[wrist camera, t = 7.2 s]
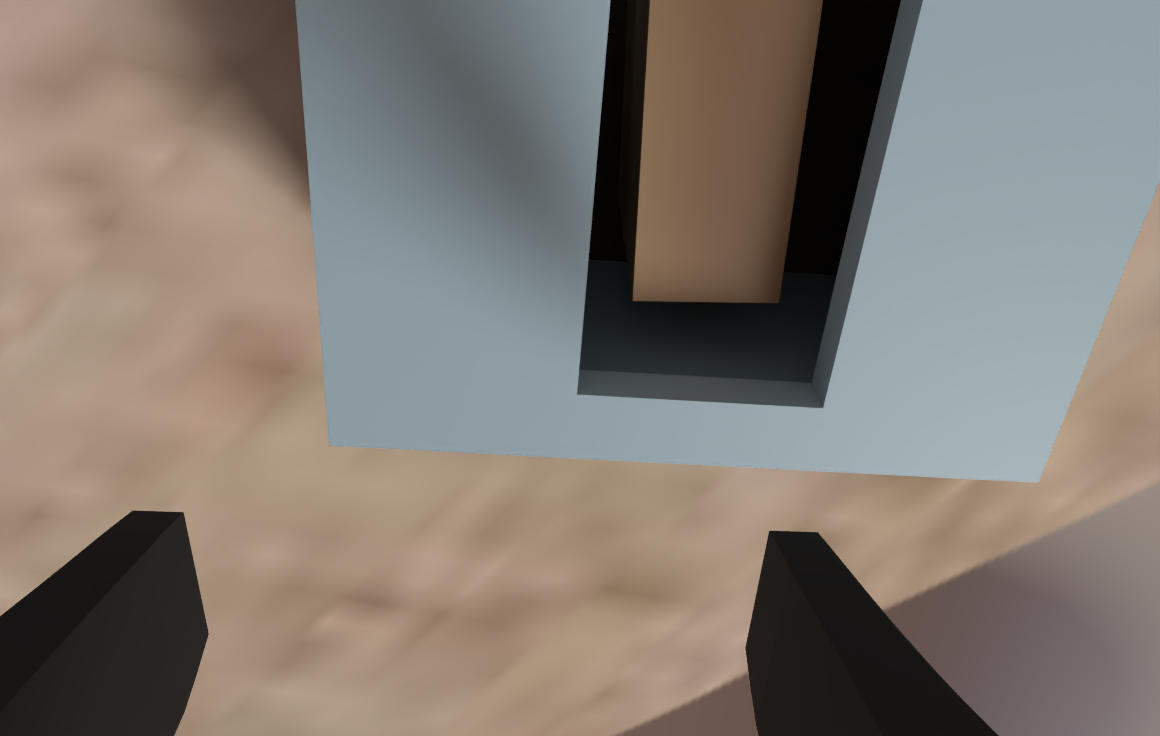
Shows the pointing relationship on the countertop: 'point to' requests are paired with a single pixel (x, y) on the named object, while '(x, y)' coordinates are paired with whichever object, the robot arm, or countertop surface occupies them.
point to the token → (712, 144)
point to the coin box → (721, 329)
